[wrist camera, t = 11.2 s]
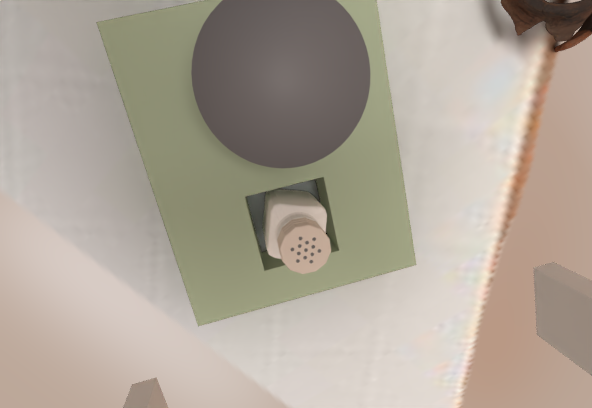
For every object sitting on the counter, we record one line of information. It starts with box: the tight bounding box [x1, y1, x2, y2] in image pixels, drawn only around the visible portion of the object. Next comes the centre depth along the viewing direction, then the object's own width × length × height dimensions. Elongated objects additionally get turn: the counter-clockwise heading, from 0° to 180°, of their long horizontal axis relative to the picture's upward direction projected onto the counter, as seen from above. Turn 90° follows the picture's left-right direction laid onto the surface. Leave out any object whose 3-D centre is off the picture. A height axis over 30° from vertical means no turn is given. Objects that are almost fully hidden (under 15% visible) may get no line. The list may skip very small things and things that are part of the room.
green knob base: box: [97, 0, 416, 326], centre depth 26 cm, size 22×18×9 cm
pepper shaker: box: [262, 189, 331, 274], centre depth 27 cm, size 4×4×10 cm
